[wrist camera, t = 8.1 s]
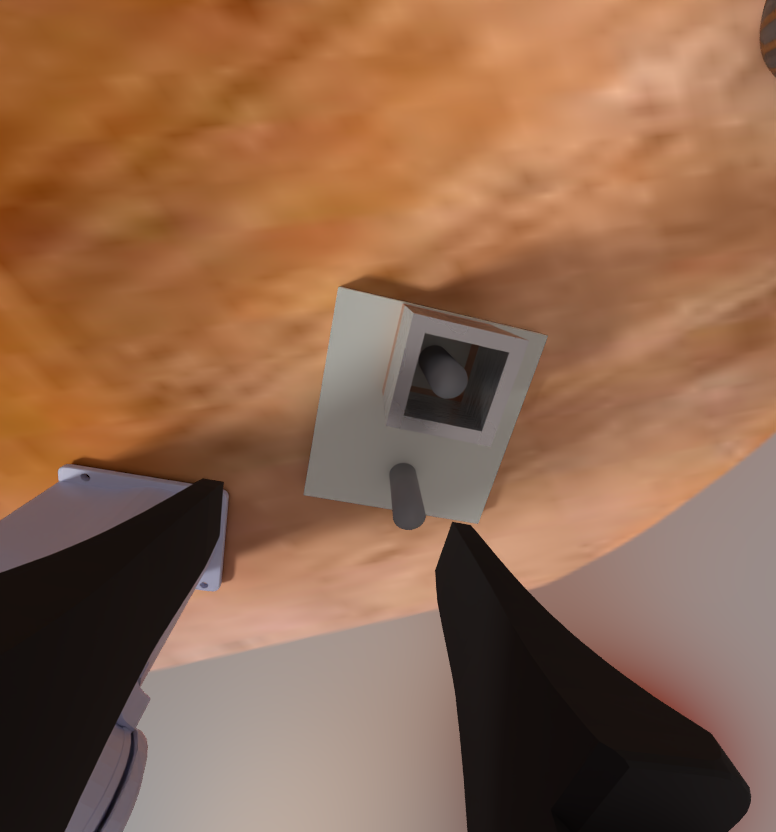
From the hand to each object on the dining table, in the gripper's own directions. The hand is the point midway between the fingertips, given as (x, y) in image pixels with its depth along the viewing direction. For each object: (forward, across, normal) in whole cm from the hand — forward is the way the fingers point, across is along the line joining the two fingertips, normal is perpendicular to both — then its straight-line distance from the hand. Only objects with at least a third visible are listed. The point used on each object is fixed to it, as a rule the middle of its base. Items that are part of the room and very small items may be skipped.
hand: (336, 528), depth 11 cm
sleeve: (+10, -4, -4) cm, 11 cm away
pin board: (+10, -3, 0) cm, 11 cm away
